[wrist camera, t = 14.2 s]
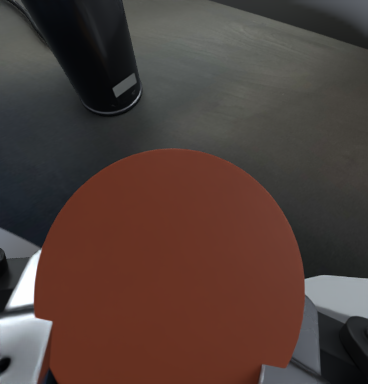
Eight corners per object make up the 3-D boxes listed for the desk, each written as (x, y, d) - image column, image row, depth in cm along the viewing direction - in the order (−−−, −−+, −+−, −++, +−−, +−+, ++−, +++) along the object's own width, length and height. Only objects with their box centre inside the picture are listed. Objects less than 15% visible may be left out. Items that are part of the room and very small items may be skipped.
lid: (39, 246, 6) (-11, 239, 4) (188, 145, 7) (191, 112, 6) (148, 454, 5) (131, 556, 3) (313, 280, 6) (363, 286, 4)
